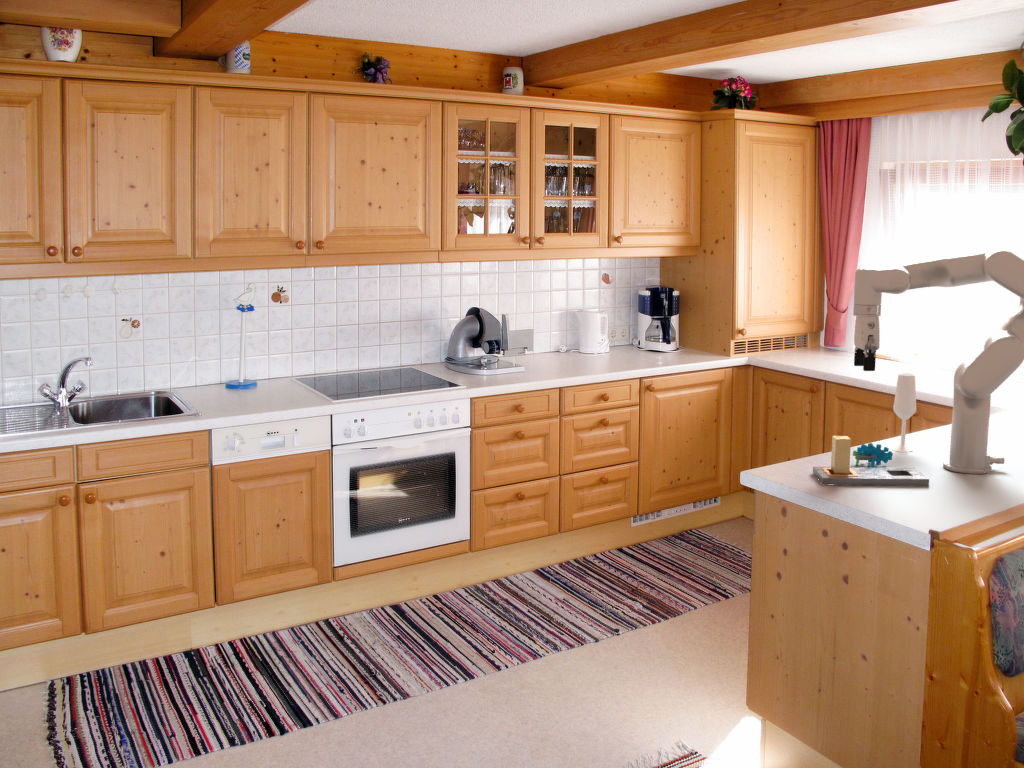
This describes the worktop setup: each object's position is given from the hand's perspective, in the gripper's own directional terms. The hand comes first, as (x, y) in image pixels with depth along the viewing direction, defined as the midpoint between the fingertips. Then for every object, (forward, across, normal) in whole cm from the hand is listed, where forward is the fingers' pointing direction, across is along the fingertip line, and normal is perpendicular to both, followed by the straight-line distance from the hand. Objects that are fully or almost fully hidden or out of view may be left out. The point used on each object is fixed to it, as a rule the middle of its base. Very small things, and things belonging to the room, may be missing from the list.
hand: (864, 368), depth 273 cm
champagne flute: (+28, +15, -17) cm, 37 cm away
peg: (+28, -21, +11) cm, 37 cm away
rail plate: (+28, -21, +3) cm, 35 cm away
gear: (+29, -5, -2) cm, 29 cm away
